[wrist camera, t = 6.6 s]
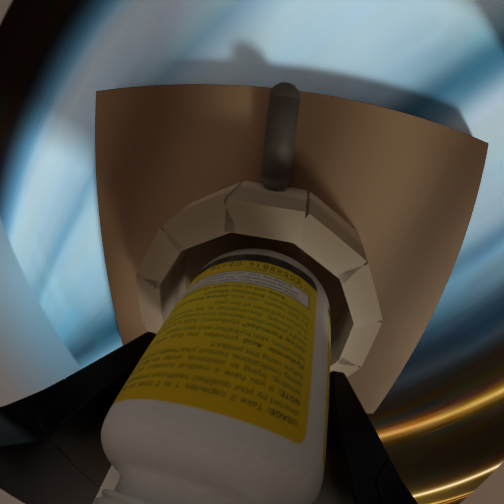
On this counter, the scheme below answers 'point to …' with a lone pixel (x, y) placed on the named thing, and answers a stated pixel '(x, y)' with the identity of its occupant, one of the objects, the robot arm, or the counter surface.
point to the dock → (285, 207)
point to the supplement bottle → (229, 391)
